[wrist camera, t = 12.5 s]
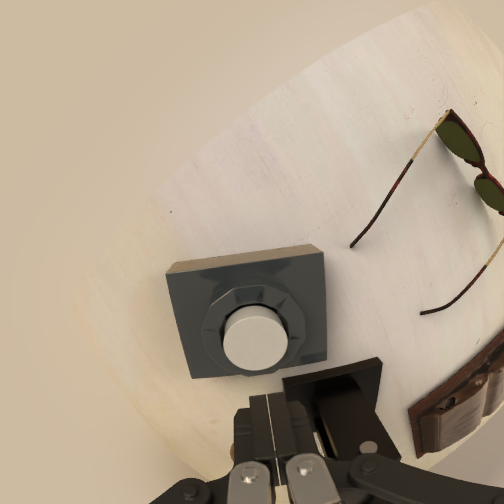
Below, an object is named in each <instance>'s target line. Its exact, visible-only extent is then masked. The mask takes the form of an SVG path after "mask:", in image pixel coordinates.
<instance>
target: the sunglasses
mask: <svg viewBox="0 0 504 504" xmlns="http://www.w3.org/2000/svg"><path fill="white" fill-rule="evenodd" d="M434 130H436V132H437V134H438V136H439V137H440V139H441V140H442V142H443V143H444V144H445V145H446V147H447V148H448V149H449V150H450V151H451V152H452V153H454V154H455V155H457V156H458V157H460V158H462V159H464V161H465V162H466V163H469V164H471V165H472V166H473V167H478V168H480V169H481V171H482V172H483V173H481V174H479V175H478V176H477V177H476V179H475V181H474V186H475V189H476V191H477V192H478V194H479V195H480V197H481V198H482V200H483V201H484V202H485V203H486V204H487V205H488V206H490V207H491V208H493V209H495V210H497V211H499V212H498V213H499V214H500V215H503V216H504V188H503V187H502V186H501V184H500V183H499V182H498V181H497V180H496V179H495V178H494V177H493V176H492V175H491V174H490V173H489V172H488V170H487V168H486V167H485V160H484V156H483V153H482V150H481V148H480V146H479V144H478V142H477V140H476V139H475V137H474V135H473V134H472V133H471V131H470V130H469V128H468V127H467V126H466V125H465V123H464V122H463V121H462V120H461V119H460V118H459V116H458V115H457V114H456V113H455V112H454V111H453V110H452V109H450V110H446V112H445V114H444V115H443V117H441V118H440V119H439V120H438V123H437V124H436V125H435V127H434V128H433V129H432V131H431V132H430V133H429V135H428V136H427V137H426V139H425V140H424V141H423V143H422V144H421V145H420V147H419V148H418V149H417V151H416V152H415V154H414V155H413V157H412V158H411V159H410V161H409V162H408V164H407V165H406V167H405V168H404V170H403V172H402V173H401V175H400V176H399V178H398V179H397V181H396V182H395V184H394V186H393V187H392V189H391V190H390V192H389V193H388V195H387V197H386V198H385V200H384V201H383V203H382V205H381V206H380V208H379V209H378V211H377V213H376V214H375V216H374V217H373V219H372V220H371V221H370V223H369V224H368V225H367V227H366V228H365V229H364V230H363V231H362V232H361V233H360V234H359V235H358V237H357V238H356V239H355V240H354V241H353V242H352V243H351V244H350V248H352V247H353V246H354V245H355V244H356V243H357V242H358V241H359V240H360V239H361V237H362V236H363V235H364V234H365V233H366V232H367V231H368V230H369V229H370V227H371V226H372V225H373V223H374V222H375V220H376V219H377V217H378V216H379V214H380V213H381V211H382V210H383V208H384V206H385V205H386V203H387V202H388V200H389V198H390V197H391V195H392V194H393V192H394V191H395V189H396V187H397V186H398V184H399V183H400V181H401V180H402V178H403V176H404V175H405V173H406V172H407V170H408V169H409V167H410V166H411V164H412V163H413V160H414V159H415V157H416V155H417V154H418V152H419V151H420V149H421V148H422V146H423V145H424V144H425V142H426V141H427V140H428V138H429V137H430V135H431V134H432V133H433V131H434ZM503 243H504V238H503V240H502V241H501V243H500V245H499V246H498V248H497V249H496V251H495V252H494V254H493V255H492V256H491V258H490V259H489V260H488V262H487V263H486V264H485V265H484V266H483V268H482V269H481V270H480V272H479V273H478V274H477V275H476V276H475V278H474V279H473V280H472V281H471V282H470V283H469V284H468V286H467V287H466V288H465V289H464V290H463V291H462V292H461V293H460V294H459V295H458V296H457V297H455V298H454V299H453V300H452V301H451V302H449V303H448V304H446V305H444V306H442V307H439V308H436V309H432V310H427V311H421V312H420V315H425V314H430V313H434V312H438V311H441V310H444V309H446V308H448V307H449V306H451V305H452V304H453V303H455V302H456V301H457V300H458V299H459V298H460V297H461V296H462V295H463V294H464V293H465V292H466V291H467V290H468V289H469V288H470V287H471V286H472V285H473V284H474V282H475V281H476V280H477V279H478V278H479V276H480V275H481V274H482V273H483V271H484V270H485V269H486V267H487V266H488V265H489V263H490V262H491V261H492V259H493V258H494V257H495V255H496V254H497V252H498V251H499V249H500V248H501V246H502V244H503Z"/></svg>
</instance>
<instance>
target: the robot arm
mask: <svg viewBox="0 0 504 504" xmlns="http://www.w3.org/2000/svg"><path fill="white" fill-rule="evenodd" d="M267 396H268V403H269V410H270V417H271V423H272V430H273V436H274V443H275V449H276V455H277V461H278V468H279V474H280V480H281V485H287V490H288V497H289V502H290V504H504V488H500V487H494V486H487V485H482V484H477V483H472V482H467V481H463V480H458V479H454V478H450V477H446V476H443V475H439V474H435V473H432V472H429V471H425V470H422V469H419V468H416V467H413V466H410V465H407V464H404V463H401V462H398V461H396V460H393V459H390V458H388V457H385V456H382V455H380V454H377V453H364V454H361V455H359V456H357V457H355V458H354V459H353V460H352V461H331V460H328V459H326V458H324V457H323V456H322V455H321V454H320V453H319V451H318V448H317V445H316V442H315V438H314V435H313V432H312V429H311V425H310V422H309V419H308V416H307V413H306V409H305V407H304V406H303V405H302V404H301V403H300V402H299V401H298V400H297V401H292V402H286V398H285V394H284V391H283V392H277V393H271V394H267ZM249 402H250V408H243V409H238V411H237V413H236V414H235V416H234V465H233V468H232V470H231V471H230V472H229V473H228V474H227V475H226V476H224V477H222V478H220V479H217V480H213V481H210V482H206V483H205V482H204V481H202V480H200V479H196V478H187V479H183V480H180V481H179V482H177V483H176V484H174V485H173V486H172V487H171V488H169V489H168V490H167V491H166V492H164V493H163V494H162V495H160V496H159V497H158V498H156V499H155V500H154V501H152V502H151V503H150V504H275V501H276V492H275V486H280V485H279V478H278V472H277V465H276V458H275V452H274V445H273V439H272V432H271V426H270V419H269V413H268V406H267V399H266V394H264V395H257V396H249Z"/></svg>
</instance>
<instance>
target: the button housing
mask: <svg viewBox="0 0 504 504" xmlns="http://www.w3.org/2000/svg"><path fill="white" fill-rule="evenodd" d="M165 275H166V279H167V284H168V289H169V293H170V298H171V302H172V306H173V311H174V315H175V319H176V323H177V327H178V331H179V335H180V339H181V342H182V346H183V350H184V353H185V357H186V361H187V364H188V367H189V371H190V374H191V378H192V379H197V378H210V377H221V376H231V375H244V376H248V377H249V376H257V375H264V374H271V373H274V372H276V371H277V370H279V369H282V368H288V367H294V366H300V365H305V364H310V363H315V362H320V361H325V360H327V318H326V289H325V269H324V254H323V252H322V251H321V250H319V249H318V248H316V247H315V246H314V245H312V244H308V245H300V246H293V247H286V248H278V249H271V250H263V251H256V252H249V253H241V254H234V255H227V256H219V257H212V258H205V259H197V260H190V261H182V262H175V263H174V264H173V265H172V266H171V268H170V269H169V270H168V271H167V272H166V274H165ZM248 306H262V307H266V308H268V309H270V310H272V311H273V312H275V313H276V314H277V315H278V316H279V318H280V319H281V321H282V324H283V326H284V329H285V332H286V335H287V339H288V345H287V349H286V352H285V354H284V355H283V357H282V358H281V359H280V360H279V361H278V362H277V363H276V364H274V365H273V366H271V367H269V368H266V369H263V370H246V369H243V368H240V367H238V366H236V365H235V364H233V363H232V362H231V361H230V360H229V359H228V357H227V356H226V354H225V351H224V346H223V341H224V328H225V325H226V322H227V320H228V319H229V317H230V316H231V315H232V314H233V313H235V312H236V311H237V310H239V309H241V308H244V307H248Z"/></svg>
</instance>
